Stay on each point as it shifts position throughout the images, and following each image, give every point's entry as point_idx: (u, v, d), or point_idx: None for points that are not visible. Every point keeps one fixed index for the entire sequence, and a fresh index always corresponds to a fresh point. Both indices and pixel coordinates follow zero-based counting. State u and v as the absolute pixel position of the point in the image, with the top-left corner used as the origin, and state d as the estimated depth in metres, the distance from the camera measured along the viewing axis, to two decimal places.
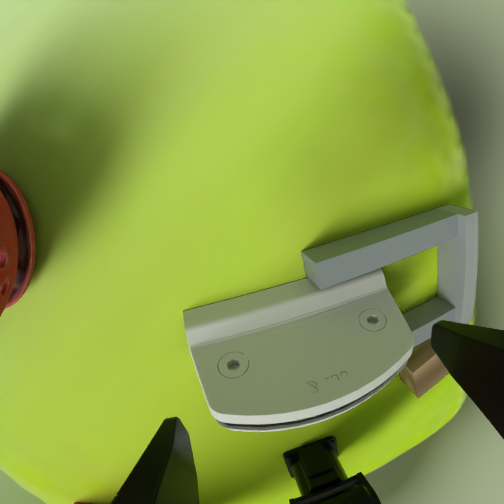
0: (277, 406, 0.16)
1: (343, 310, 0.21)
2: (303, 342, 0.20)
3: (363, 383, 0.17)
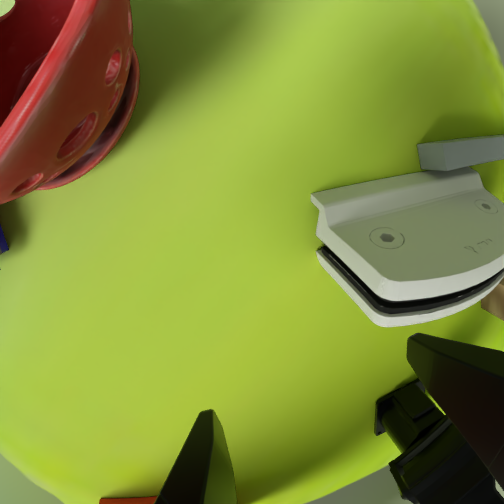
0: (451, 268, 0.13)
1: (460, 199, 0.19)
2: (442, 218, 0.17)
3: None
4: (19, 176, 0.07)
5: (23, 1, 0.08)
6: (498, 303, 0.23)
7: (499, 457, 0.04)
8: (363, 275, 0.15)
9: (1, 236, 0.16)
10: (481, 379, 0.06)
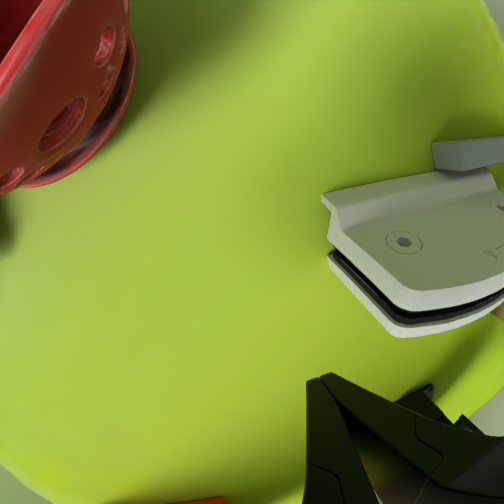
0: (472, 274, 0.12)
1: (475, 200, 0.17)
2: (459, 221, 0.15)
3: None
4: None
5: None
6: None
7: None
8: (380, 283, 0.14)
9: None
10: (381, 442, 0.05)
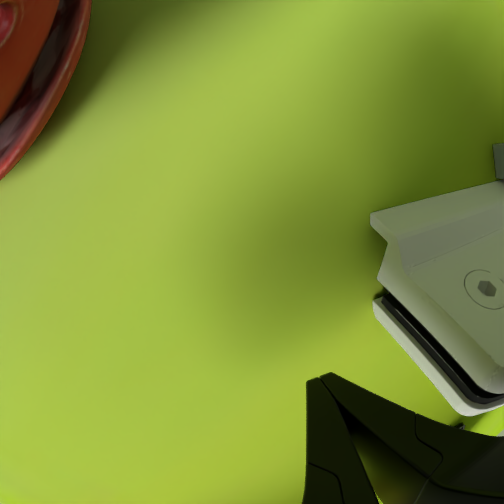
0: None
1: None
2: None
3: None
4: None
5: None
6: None
7: None
8: (461, 356, 0.08)
9: None
10: (381, 442, 0.05)
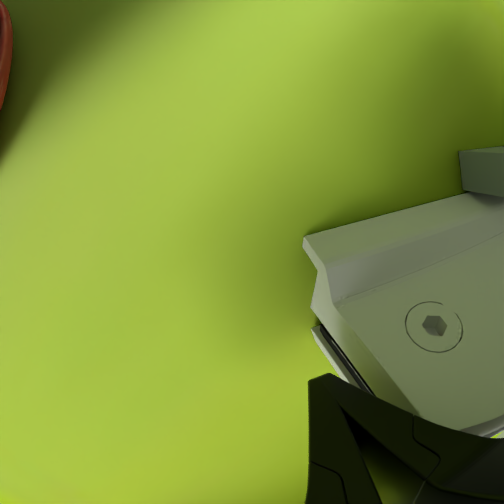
0: None
1: None
2: None
3: None
4: None
5: None
6: None
7: None
8: None
9: None
10: (378, 443, 0.05)
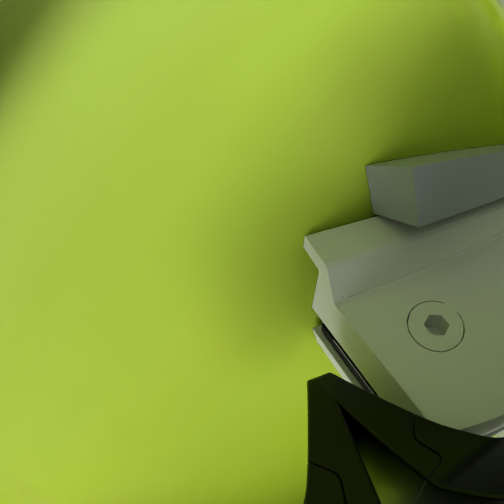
0: None
1: None
2: None
3: None
4: None
5: None
6: None
7: None
8: None
9: None
10: (380, 443, 0.05)
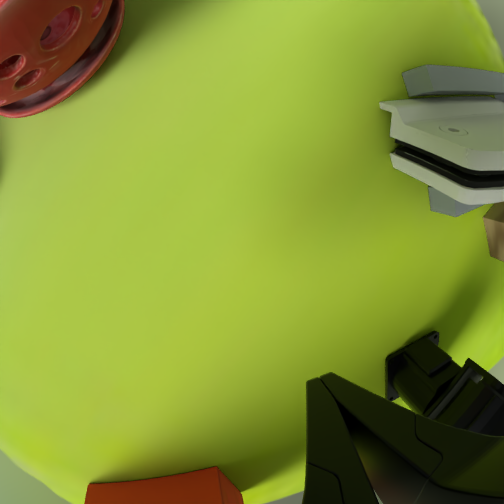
0: None
1: (494, 116, 0.17)
2: (487, 124, 0.16)
3: None
4: (4, 46, 0.05)
5: None
6: None
7: None
8: (446, 153, 0.14)
9: None
10: (381, 442, 0.05)
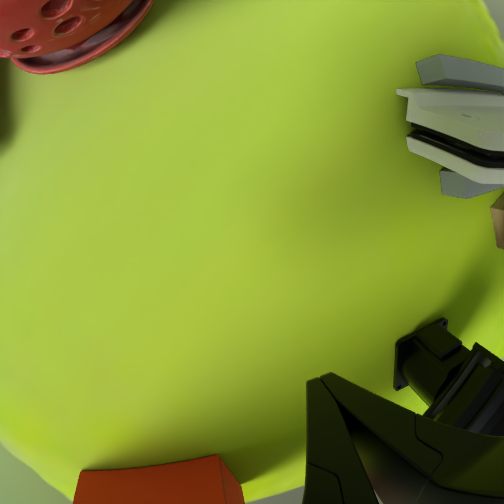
0: None
1: (502, 109, 0.17)
2: (496, 114, 0.16)
3: None
4: None
5: None
6: None
7: None
8: (461, 134, 0.14)
9: None
10: (381, 442, 0.05)
